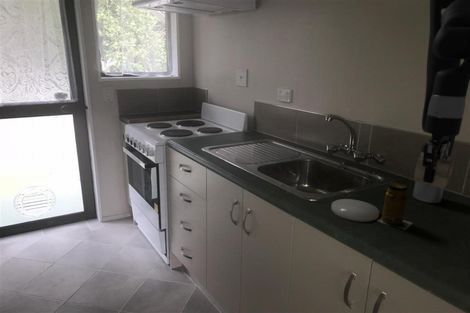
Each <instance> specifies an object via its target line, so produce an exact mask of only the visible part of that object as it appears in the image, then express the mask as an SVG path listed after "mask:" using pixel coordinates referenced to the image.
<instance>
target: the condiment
mask: <svg viewBox="0 0 470 313" xmlns="http://www.w3.org/2000/svg"><path fill="white" fill-rule="evenodd" d="M407 191H408V187H407V186H406V185H405V184H402V183H397V182H391V183H389V184H388V188H387V191H386V193H385V197H384V201H383V202H384V203H383V208H382V213H381V217H380V218H378V219H376V222H379V223H381V224H384V225H386V226H391V227H394V228H397V229H400V230H404V231H407V229H409V227H411V225H412V224H413V222H411V221H407V220H405V219H404V218H405V217H404V216H405V212H406V207H407V206H406V205H407V199H408V195H407V194H408V192H407Z"/></svg>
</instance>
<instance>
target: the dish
mask: <svg viewBox="0 0 470 313" xmlns="http://www.w3.org/2000/svg"><path fill="white" fill-rule="evenodd" d="M330 209H331V211H332V212H333V214H335V215H336V216H338V217H340V218H343V219H345V220H349V221H353V222H361V223H363V222H364V223H368V222H374V221H377V220H378V219H379V216H380V210H379V209H378V208H377V207H376V206H375V205H374V204H372V203H369V202H366V201H362V200H357V199H354V198H353V199H351V198H342V199H337V200H334V201H332V203H331V207H330Z"/></svg>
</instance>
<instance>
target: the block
mask: <svg viewBox="0 0 470 313" xmlns="http://www.w3.org/2000/svg"><path fill="white" fill-rule="evenodd" d="M429 162H430V163H432V160H431V159H430V161H429ZM415 164H416V165H415V170H414V176H413V181H414V182H420V183H424V184H428V185H432V186H436V187H440V188H444V189H445V188H446V187H447V186H448V185H450V182H451V176H452V173H453V172H452V171H453V169H454V168H453V167H454V164H455V161H454V160H451V159H450V160H445V159H441V160H440V161H438V164H437V168H436V171H435V176H434V181H433V183H427V182H424V181H423V178H424V173H425V168H426V167H424V166H423V165H422V164H423V156H422V157H420V156H419V157H418V158H417V160H416V163H415Z"/></svg>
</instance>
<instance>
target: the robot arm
mask: <svg viewBox="0 0 470 313" xmlns="http://www.w3.org/2000/svg"><path fill="white" fill-rule="evenodd" d="M442 10H444V11H443V13H442ZM462 60H463V61H462ZM461 61H462V62H461ZM425 84H426V86H425V94H424V95H425V96H424V103H423V111H422V116H421V118H422V119H421V128H422V131H423V132H424V133H427V134H431V137H430V139H429V140H428V141H427V142H425V143H423V144H422V147H421V152H420V156H419V158H420V157H422V156H423V164H422V165H423V166H424V167H426V168H425V173H424V178H423V181H424V182H427V183H433V181H434V176H435V171H436V168H437V164H438V161H440V160H441V159H445V160H450V161H451V156H452V152H453V148H454V146H455V145H454V144H455V140H456V136H459V134H460V131H461V127H462V124H463V123H462V122H463V118H464V113H465V109H466V108H465V107H466V100H467V99H466V98H467V94H468V90H469V89H468V88H469V86H470V0H429V38H428V48H427V59H426V83H425ZM430 159H431V160H432V163H430V162H429V161H430ZM444 189H445V187H444V188H440V187H436V186H432V185H428V184H424V183H420V182H416V181H414V188H413V192H412V197H413V198H414V199H416V200H418V201H420V202H425V203H428V204H430V203H432V204H439V203H441V201H442V198H443V193H444Z"/></svg>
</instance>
